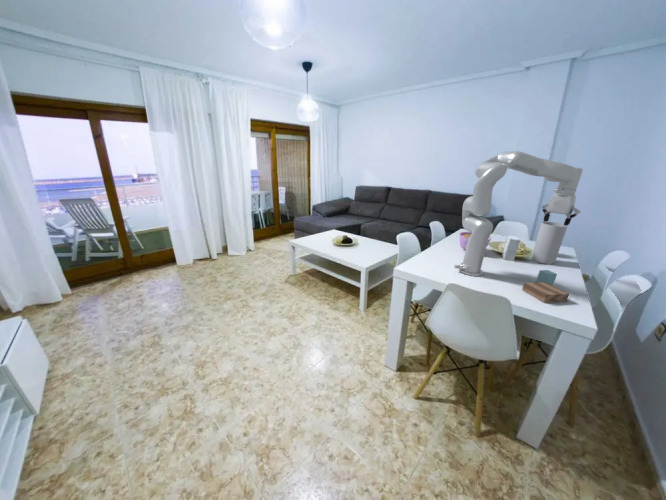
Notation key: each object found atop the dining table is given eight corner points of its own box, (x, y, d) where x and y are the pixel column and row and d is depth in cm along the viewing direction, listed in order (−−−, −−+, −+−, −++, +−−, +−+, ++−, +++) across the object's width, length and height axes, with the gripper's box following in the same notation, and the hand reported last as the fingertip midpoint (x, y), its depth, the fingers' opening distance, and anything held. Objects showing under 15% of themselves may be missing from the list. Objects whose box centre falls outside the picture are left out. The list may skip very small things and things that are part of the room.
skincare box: (501, 255, 173) (507, 235, 168) (511, 257, 171) (517, 236, 166) (503, 259, 166) (509, 238, 161) (514, 261, 163) (520, 239, 158)
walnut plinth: (543, 302, 115) (546, 295, 113) (521, 290, 126) (524, 282, 125) (566, 301, 116) (569, 293, 115) (542, 289, 128) (545, 281, 126)
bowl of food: (493, 253, 178) (497, 237, 174) (477, 258, 168) (481, 241, 164) (466, 245, 194) (469, 230, 190) (450, 249, 184) (453, 234, 180)
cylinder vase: (531, 261, 163) (542, 224, 155) (529, 256, 173) (540, 220, 165) (555, 266, 157) (569, 227, 149) (553, 260, 167) (565, 223, 158)
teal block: (544, 286, 130) (548, 274, 128) (535, 282, 135) (539, 270, 133) (552, 286, 131) (557, 274, 129) (543, 281, 136) (547, 270, 133)
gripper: (543, 190, 140) (534, 220, 145) (582, 194, 125) (570, 227, 130) (551, 189, 142) (542, 219, 148) (590, 193, 127) (578, 226, 133)
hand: (555, 223), depth 139 cm, fingers open, 9 cm apart
